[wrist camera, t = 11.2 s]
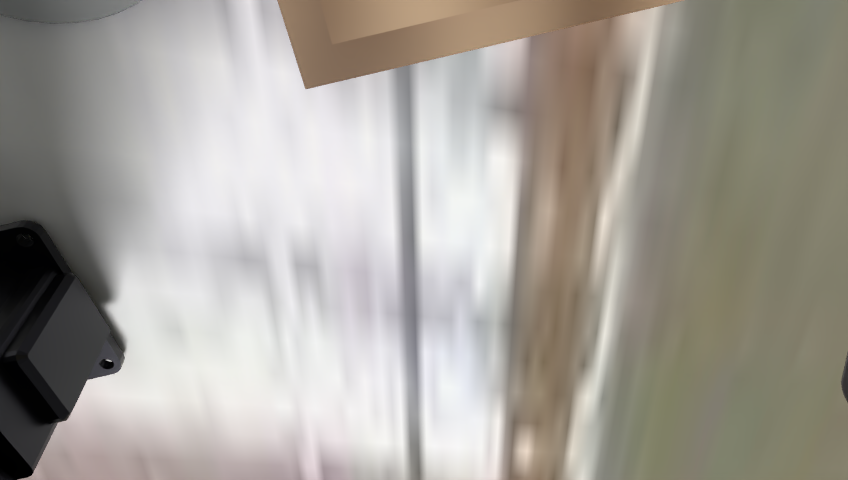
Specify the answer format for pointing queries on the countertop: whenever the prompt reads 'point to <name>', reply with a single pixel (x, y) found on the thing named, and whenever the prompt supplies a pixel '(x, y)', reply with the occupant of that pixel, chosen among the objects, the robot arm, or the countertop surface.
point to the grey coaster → (62, 9)
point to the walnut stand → (422, 29)
